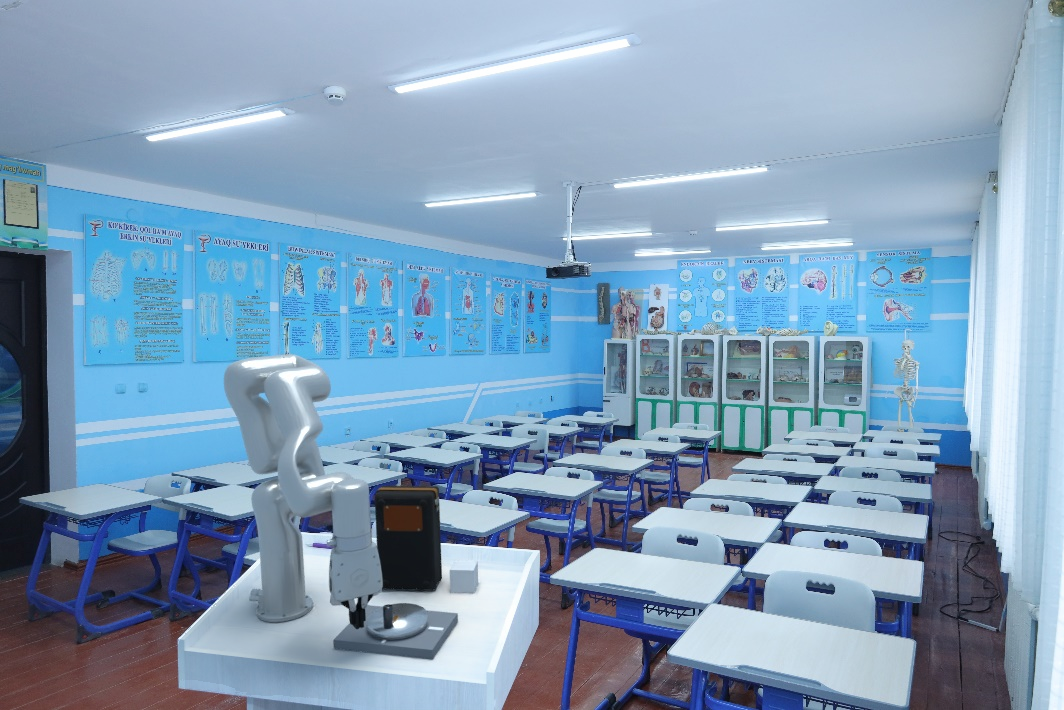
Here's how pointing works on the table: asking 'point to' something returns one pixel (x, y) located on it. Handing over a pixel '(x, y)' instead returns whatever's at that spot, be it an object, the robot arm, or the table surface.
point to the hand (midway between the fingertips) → (357, 625)
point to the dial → (397, 621)
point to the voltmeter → (409, 536)
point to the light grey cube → (463, 576)
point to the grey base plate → (413, 646)
